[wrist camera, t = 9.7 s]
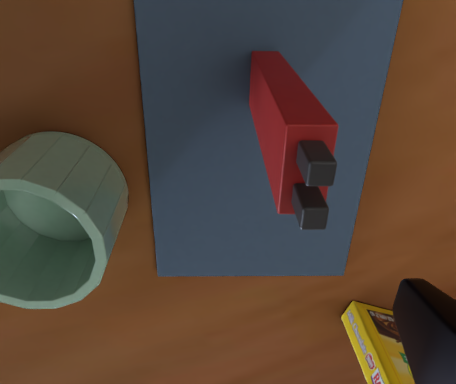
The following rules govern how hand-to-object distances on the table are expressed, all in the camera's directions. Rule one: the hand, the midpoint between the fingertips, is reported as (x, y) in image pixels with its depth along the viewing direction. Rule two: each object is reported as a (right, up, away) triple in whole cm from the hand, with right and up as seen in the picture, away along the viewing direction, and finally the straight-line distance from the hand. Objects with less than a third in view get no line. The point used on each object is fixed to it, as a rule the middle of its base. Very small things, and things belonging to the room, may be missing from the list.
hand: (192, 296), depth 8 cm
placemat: (+2, +7, +10) cm, 12 cm away
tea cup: (-8, +2, +12) cm, 14 cm away
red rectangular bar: (+2, +7, +9) cm, 12 cm away
